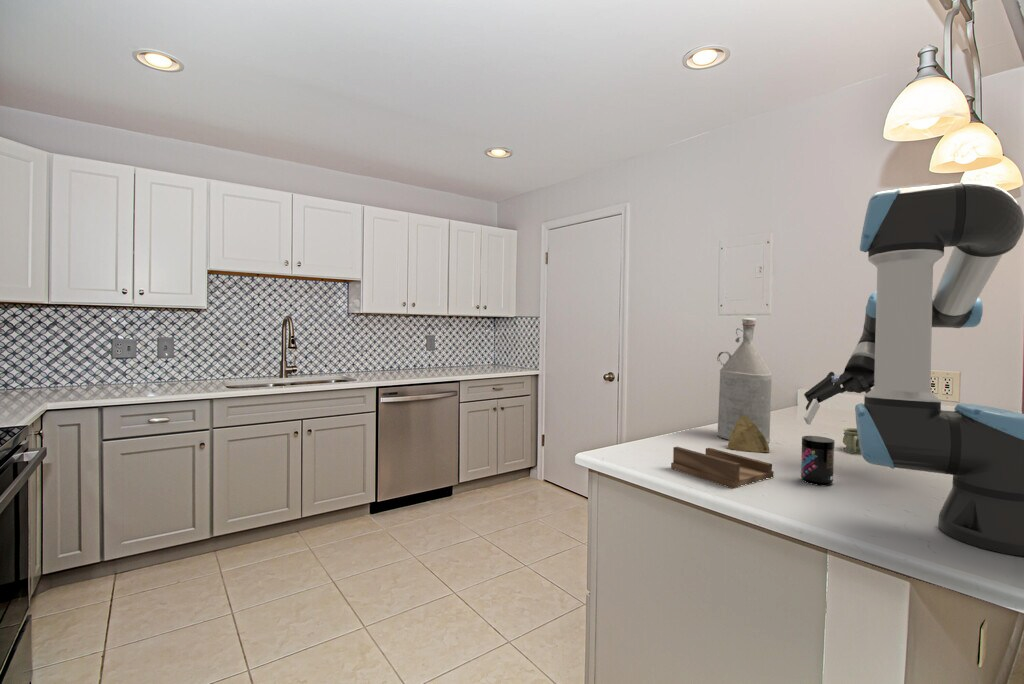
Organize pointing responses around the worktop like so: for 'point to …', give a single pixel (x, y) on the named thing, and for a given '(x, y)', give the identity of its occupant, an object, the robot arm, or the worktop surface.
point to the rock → (747, 437)
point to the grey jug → (744, 386)
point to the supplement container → (817, 460)
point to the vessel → (851, 440)
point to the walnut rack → (721, 466)
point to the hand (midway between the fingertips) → (834, 426)
